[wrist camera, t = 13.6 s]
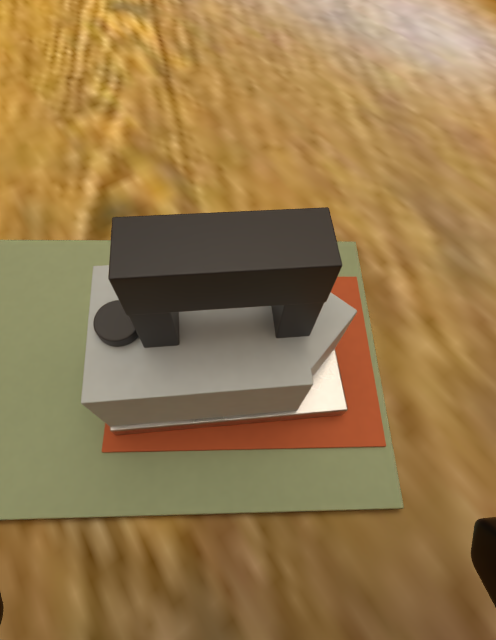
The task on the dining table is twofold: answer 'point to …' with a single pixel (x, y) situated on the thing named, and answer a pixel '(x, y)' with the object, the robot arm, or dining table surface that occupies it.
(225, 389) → the iron
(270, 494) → the ironing mat
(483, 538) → the robot arm
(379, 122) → the dining table surface
